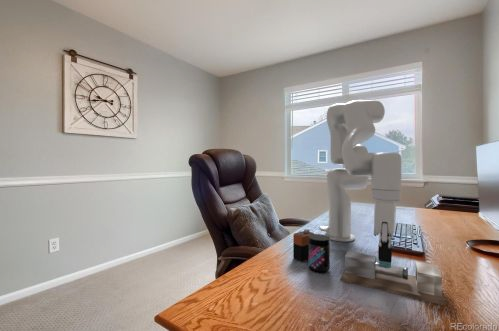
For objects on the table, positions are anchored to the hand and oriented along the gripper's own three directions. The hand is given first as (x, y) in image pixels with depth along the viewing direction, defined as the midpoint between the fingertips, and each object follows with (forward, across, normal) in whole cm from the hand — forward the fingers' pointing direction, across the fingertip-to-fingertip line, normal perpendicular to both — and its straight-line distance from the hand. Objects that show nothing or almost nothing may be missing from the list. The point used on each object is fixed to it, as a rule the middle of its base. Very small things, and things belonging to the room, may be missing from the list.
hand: (385, 258), depth 70 cm
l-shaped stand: (+5, 0, -2) cm, 5 cm away
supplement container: (+7, +2, -18) cm, 20 cm away
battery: (+7, -4, -26) cm, 27 cm away
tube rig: (+7, 0, +1) cm, 7 cm away
